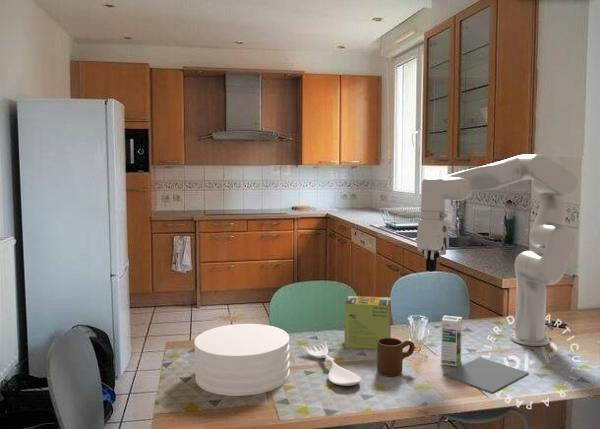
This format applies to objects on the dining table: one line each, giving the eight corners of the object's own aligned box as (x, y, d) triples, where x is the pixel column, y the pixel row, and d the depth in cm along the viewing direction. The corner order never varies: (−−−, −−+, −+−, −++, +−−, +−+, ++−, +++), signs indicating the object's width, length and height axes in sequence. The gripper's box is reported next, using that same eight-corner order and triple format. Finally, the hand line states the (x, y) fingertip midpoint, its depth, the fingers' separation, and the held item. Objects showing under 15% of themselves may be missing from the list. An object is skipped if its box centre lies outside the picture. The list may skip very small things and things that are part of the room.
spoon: (325, 350, 177) (325, 340, 177) (366, 389, 147) (366, 377, 147) (300, 353, 174) (300, 343, 174) (336, 393, 144) (336, 381, 144)
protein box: (389, 350, 176) (390, 305, 174) (344, 347, 179) (344, 303, 177) (390, 339, 186) (391, 297, 184) (347, 337, 189) (347, 295, 187)
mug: (408, 364, 164) (408, 334, 163) (420, 373, 157) (420, 343, 156) (372, 368, 161) (372, 338, 160) (383, 378, 153) (383, 347, 152)
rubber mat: (480, 358, 168) (480, 357, 168) (528, 373, 156) (528, 372, 155) (442, 375, 155) (442, 373, 155) (492, 393, 143) (492, 392, 143)
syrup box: (440, 364, 163) (441, 319, 161) (442, 358, 168) (443, 314, 167) (459, 367, 161) (460, 321, 159) (461, 360, 166) (462, 316, 165)
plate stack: (296, 391, 145) (296, 352, 144) (193, 400, 141) (192, 359, 140) (283, 355, 173) (282, 321, 172) (197, 361, 168) (195, 326, 167)
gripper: (459, 216, 168) (457, 273, 170) (421, 213, 180) (420, 265, 182) (444, 218, 163) (442, 276, 165) (407, 214, 175) (405, 268, 177)
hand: (431, 270), depth 173 cm, fingers closed
